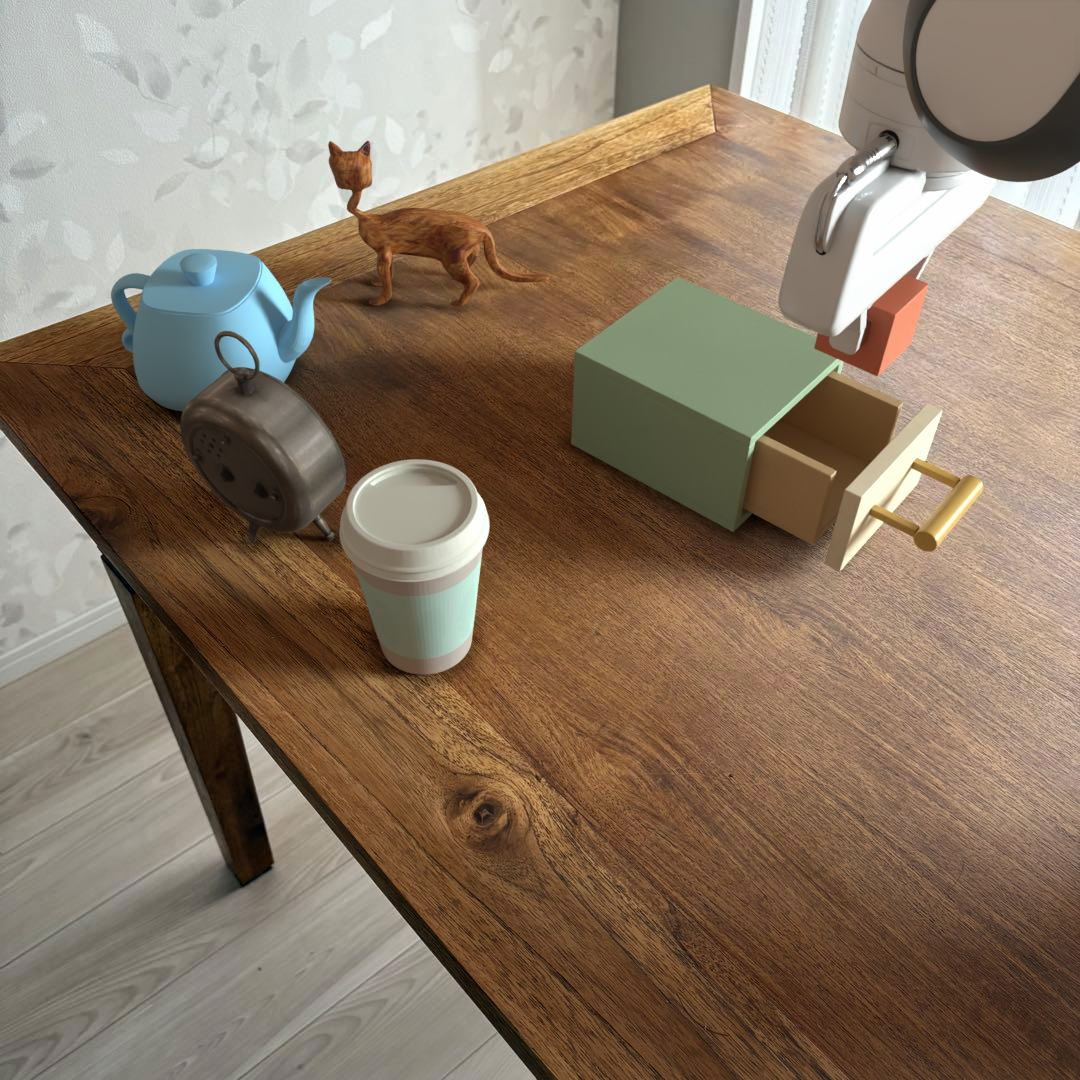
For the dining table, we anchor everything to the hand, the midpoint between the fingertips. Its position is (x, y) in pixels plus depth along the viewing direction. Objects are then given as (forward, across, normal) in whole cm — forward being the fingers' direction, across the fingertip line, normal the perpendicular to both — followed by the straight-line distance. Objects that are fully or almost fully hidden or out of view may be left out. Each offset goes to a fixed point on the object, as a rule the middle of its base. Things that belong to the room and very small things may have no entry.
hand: (869, 325), depth 68 cm
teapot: (+16, -17, +44) cm, 49 cm away
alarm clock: (+16, -26, +28) cm, 42 cm away
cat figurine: (+16, +3, +39) cm, 43 cm away
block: (+2, 0, 0) cm, 2 cm away
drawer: (+15, 0, 0) cm, 15 cm away
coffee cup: (+16, -27, +13) cm, 34 cm away
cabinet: (+16, 0, +11) cm, 19 cm away
